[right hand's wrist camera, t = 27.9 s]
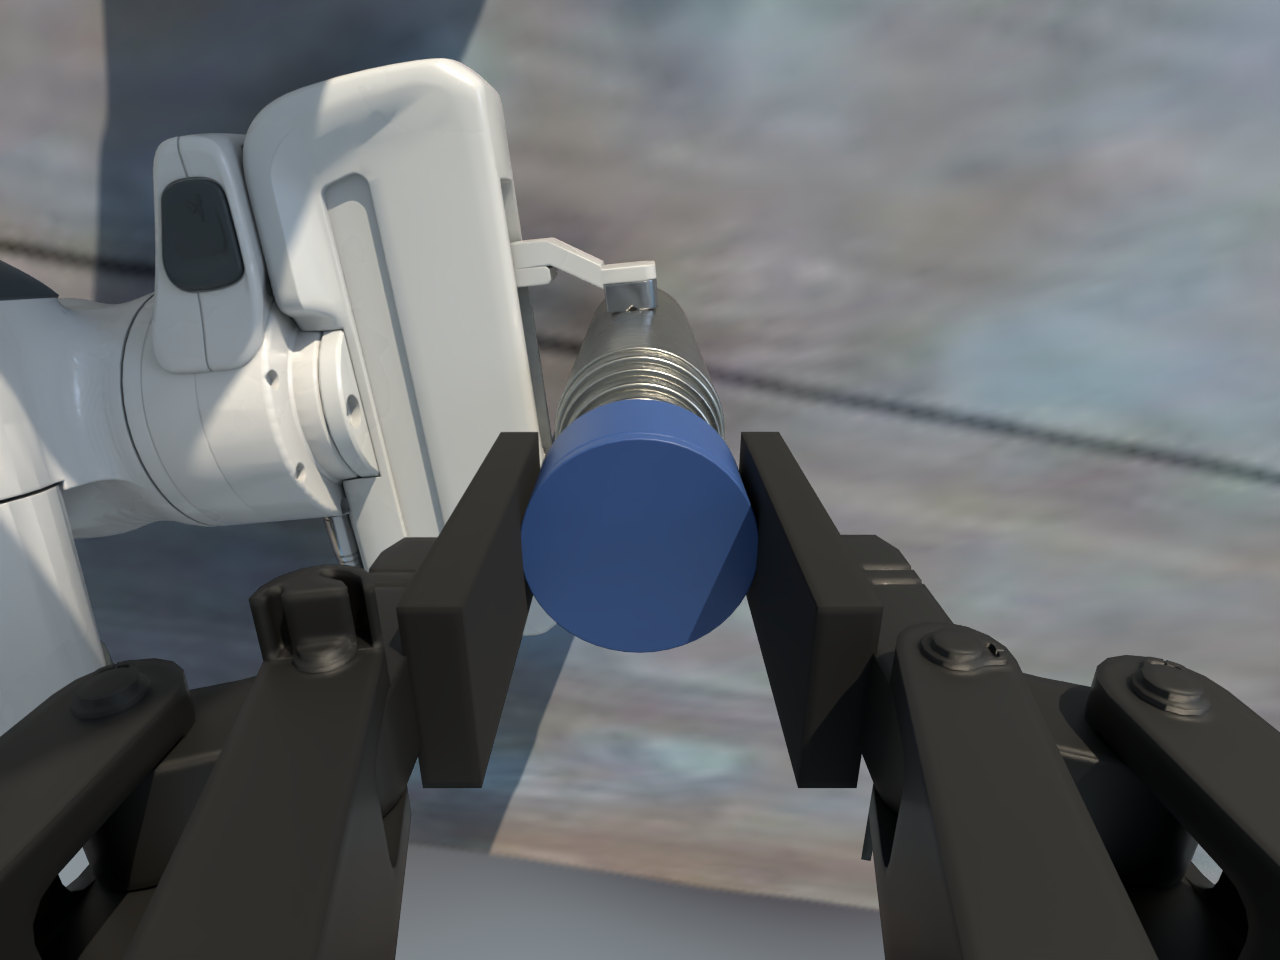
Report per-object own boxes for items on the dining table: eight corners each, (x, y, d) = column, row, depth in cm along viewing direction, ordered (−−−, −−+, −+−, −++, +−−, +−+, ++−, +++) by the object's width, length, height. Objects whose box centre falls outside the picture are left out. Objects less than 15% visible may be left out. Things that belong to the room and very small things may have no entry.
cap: (498, 460, 14) (470, 512, 12) (679, 358, 13) (687, 391, 11) (605, 613, 15) (598, 687, 13) (774, 528, 15) (800, 591, 12)
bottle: (710, 334, 31) (811, 526, 13) (641, 404, 33) (644, 673, 14) (637, 263, 30) (634, 360, 12) (569, 338, 31) (468, 536, 13)
